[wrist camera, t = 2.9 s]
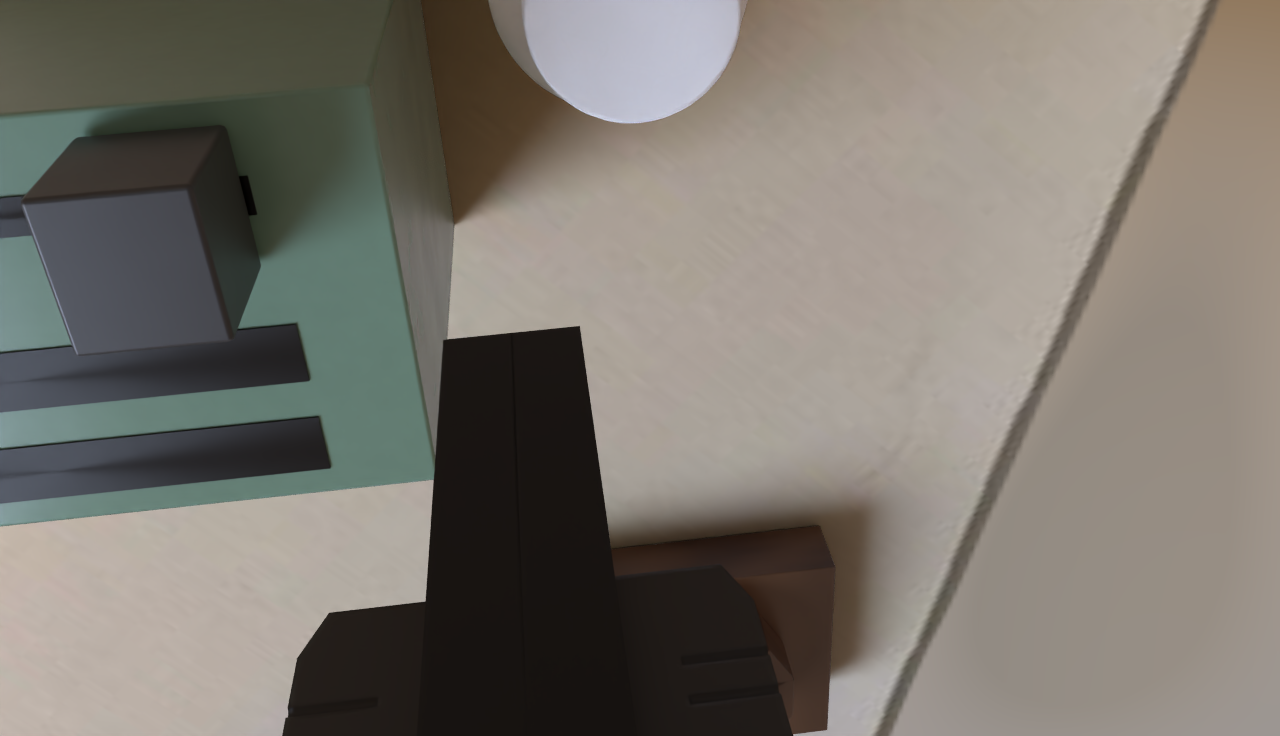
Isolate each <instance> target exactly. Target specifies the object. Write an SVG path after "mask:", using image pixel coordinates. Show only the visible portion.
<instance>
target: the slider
mask: <svg viewBox="0 0 1280 736" xmlns="http://www.w3.org/2000/svg"><path fill="white" fill-rule="evenodd" d="M21 207H22V210H23V213H24V215H25V218H26V221H27V224H28V226H29V229H30V232H31V235H32V237H33V240H34V243H35V246H36V248H37V251H38V254H39V257H40V259H41V262H42V265H43V268H44V270H45V273H46V276H47V279H48V281H49V284H50V287H51V290H52V292H53V295H54V298H55V301H56V303H57V306H58V309H59V312H60V314H61V317H62V320H63V323H64V325H65V328H66V331H67V334H68V336H69V339H70V342H71V345H72V347H73V350H74V353H75V354H76V355H77V356H88V355H98V354H108V353H118V352H128V351H139V350H149V349H159V348H169V347H179V346H189V345H199V344H210V343H220V342H229V341H231V340H233V339H234V337H235V335H236V332H237V329H238V327H239V324H240V321H241V319H242V316H243V313H244V311H245V308H246V305H247V303H248V300H249V298H250V295H251V292H252V290H253V287H254V284H255V282H256V279H257V276H258V274H259V271H260V268H261V263H260V259H259V255H258V251H257V247H256V243H255V239H254V235H253V231H252V227H251V223H250V219H249V215H248V211H247V207H246V203H245V199H244V195H243V191H242V187H241V183H240V179H239V175H238V171H237V167H236V163H235V159H234V155H233V151H232V147H231V143H230V139H229V135H228V131H227V129H226V127H225V126H222V125H214V126H203V127H191V128H179V129H168V130H156V131H145V132H133V133H121V134H110V135H98V136H87V137H77V138H75V139H74V140H73V141H72V142H71V143H70V144H69V145H68V146H67V148H66V149H65V150H64V151H63V152H62V153H61V155H60V156H59V157H58V158H57V159H56V160H55V161H54V163H53V164H52V165H51V166H50V167H49V168H48V169H47V171H46V172H45V173H44V174H43V175H42V176H41V177H40V179H39V180H38V181H37V182H36V183H35V184H34V185H33V187H32V188H31V189H30V190H29V191H28V192H27V194H26V195H25V196H24V197H23V198H22V199H21Z"/></svg>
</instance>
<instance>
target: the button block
mask: <svg viewBox="0 0 1280 736" xmlns="http://www.w3.org/2000/svg"><path fill="white" fill-rule="evenodd" d="M611 552H612V559H613V566H614V573H615V576H620V575H629V574H637V573H646V572H654V571H663V570H672V569H680V568H689V567H697V566H706V565H715V564H721V565H722V566H723V567H724V568H725V569H726V570H727V571H728V573H729V574H730V575H731V576H732V577H733V578H734V579H735V580H736V581H737V582H738V583H739V584H740V585H741V587H742V588H743V589H744V590H745V591H746V592H747V593H748V594H749V595H750V596H751V597H752V598H753V600H754V601H755V605H756V608H757V612H758V615H759V619H760V622H761V626H762V629H763V633H764V636H765V640H766V643H767V649H768V655H770V657H771V660H772V664H773V667H774V671H775V674H776V678H777V681H778V688H779V693H780V694H781V695H782V699H783V702H784V706H785V709H786V713H787V716H788V720H789V723H790V727H791V730H792V734H799V733H807V732H815V731H823V730H827V723H828V703H829V683H830V663H831V643H832V623H833V603H834V584H835V565H834V562H833V559H832V557H831V554H830V552H829V549H828V546H827V544H826V541H825V539H824V536H823V533H822V531H821V528H820V526H811V527H802V528H793V529H784V530H776V531H767V532H758V533H749V534H740V535H731V536H723V537H714V538H705V539H696V540H687V541H678V542H669V543H661V544H652V545H643V546H634V547H625V548H616V549H611Z"/></svg>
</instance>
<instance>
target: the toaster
mask: <svg viewBox="0 0 1280 736" xmlns="http://www.w3.org/2000/svg"><path fill="white" fill-rule="evenodd" d="M214 125H222V126H225V127H226V129H227V131H228V135H229V139H230V143H231V147H232V151H233V155H234V159H235V163H236V167H237V171H238V175H239V179H240V183H241V187H242V191H243V195H244V199H245V203H246V207H247V211H248V215H249V219H250V223H251V227H252V231H253V235H254V239H255V243H256V247H257V251H258V255H259V259H260V263H261V268H260V271H259V274H258V276H257V279H256V282H255V284H254V287H253V290H252V292H251V295H250V298H249V300H248V303H247V305H246V308H245V311H244V313H243V316H242V319H241V321H240V324H239V327H238V329H237V332H236V335H235V337H234V339H233V340H231V341H229V342H220V343H210V344H199V345H189V346H179V347H169V348H159V349H149V350H139V351H128V352H118V353H108V354H98V355H88V356H77V355H76V354H75V353H74V350H73V347H72V345H71V342H70V339H69V336H68V334H67V331H66V328H65V325H64V323H63V320H62V317H61V314H60V312H59V309H58V306H57V303H56V301H55V298H54V295H53V292H52V290H51V287H50V284H49V281H48V279H47V276H46V273H45V270H44V268H43V265H42V262H41V259H40V257H39V254H38V251H37V248H36V246H35V243H34V240H33V237H32V235H31V232H30V229H29V226H28V224H27V221H26V218H25V215H24V213H23V210H22V207H21V199H22V198H23V197H24V196H25V195H26V194H27V192H28V191H29V190H30V189H31V188H32V187H33V185H34V184H35V183H36V182H37V181H38V180H39V179H40V177H41V176H42V175H43V174H44V173H45V172H46V171H47V169H48V168H49V167H50V166H51V165H52V164H53V163H54V161H55V160H56V159H57V158H58V157H59V156H60V155H61V153H62V152H63V151H64V150H65V149H66V148H67V146H68V145H69V144H70V143H71V142H72V141H73V140H74V139H75V138H77V137H87V136H98V135H110V134H121V133H133V132H145V131H156V130H168V129H179V128H191V127H203V126H214ZM453 240H454V220H453V213H452V206H451V200H450V193H449V186H448V180H447V173H446V166H445V160H444V153H443V146H442V140H441V133H440V126H439V119H438V113H437V106H436V99H435V93H434V86H433V79H432V73H431V66H430V59H429V53H428V46H427V39H426V32H425V26H424V19H423V12H422V6H421V0H0V526H9V525H18V524H27V523H37V522H46V521H55V520H64V519H74V518H83V517H92V516H102V515H111V514H120V513H129V512H139V511H148V510H157V509H167V508H176V507H185V506H194V505H204V504H213V503H222V502H231V501H241V500H250V499H259V498H269V497H278V496H287V495H296V494H306V493H315V492H324V491H333V490H343V489H352V488H361V487H371V486H380V485H389V484H398V483H408V482H417V481H426V480H434V470H435V455H436V440H437V425H438V410H439V395H440V380H441V365H442V350H443V340H447V336H448V320H449V304H450V288H451V272H452V256H453Z"/></svg>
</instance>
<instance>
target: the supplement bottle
mask: <svg viewBox="0 0 1280 736" xmlns="http://www.w3.org/2000/svg"><path fill="white" fill-rule="evenodd" d="M488 2H489V6H490V10H491V14H492V18H493V21H494V24H495V26H496V29H497V31H498V34H499V36H500V38H501V39H502V41H503V43H504V45H505V47H506V48H507V50H508V52H509V53H510V55H511V56H512V57H513V59H514V60H515V62H516V63H517V64H518V65H519V66H520V67H521V69H522V70H523V71H524V72H525V73H526V74H527V75H528V76H529V77H531V78H532V79H533V80H534V81H535V82H536V83H537V84H538V85H540V86H541V87H542V88H544V89H545V90H547V91H548V92H550V93H552V94H553V95H555V96H557V97H559V98H561V99H563V100H565V101H566V102H568V103H569V104H570V105H572V106H573V107H575V108H577V109H578V110H580V111H582V112H584V113H586V114H588V115H591V116H594V117H597V118H600V119H603V120H606V121H611V122H618V123H643V122H650V121H654V120H658V119H662V118H665V117H668V116H670V115H673V114H675V113H677V112H679V111H681V110H683V109H685V108H686V107H688V106H690V105H691V104H693V103H694V102H695V101H697V100H698V99H700V98H701V97H702V96H703V95H704V94H705V93H706V92H708V91H709V89H710V88H711V87H712V86H713V85H714V84H715V83H716V82H717V80H718V79H719V78H720V76H721V75H722V73H723V72H724V70H725V68H726V66H727V65H728V63H729V61H730V59H731V57H732V55H733V52H734V50H735V47H736V44H737V40H738V37H739V33H740V27H741V22H742V19H743V16H744V13H745V9H746V5H747V0H488Z"/></svg>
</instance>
